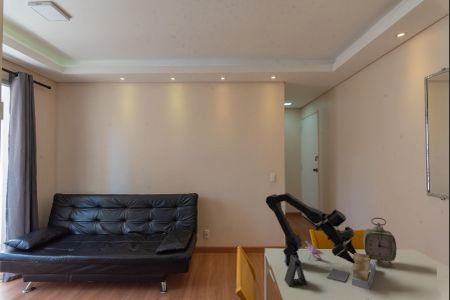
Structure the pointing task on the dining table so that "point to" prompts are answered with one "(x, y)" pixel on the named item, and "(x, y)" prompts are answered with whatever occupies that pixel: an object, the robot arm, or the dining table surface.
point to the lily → (313, 250)
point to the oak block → (361, 266)
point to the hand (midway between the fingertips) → (355, 259)
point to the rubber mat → (338, 275)
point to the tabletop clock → (379, 244)
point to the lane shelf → (371, 274)
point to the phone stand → (292, 268)
